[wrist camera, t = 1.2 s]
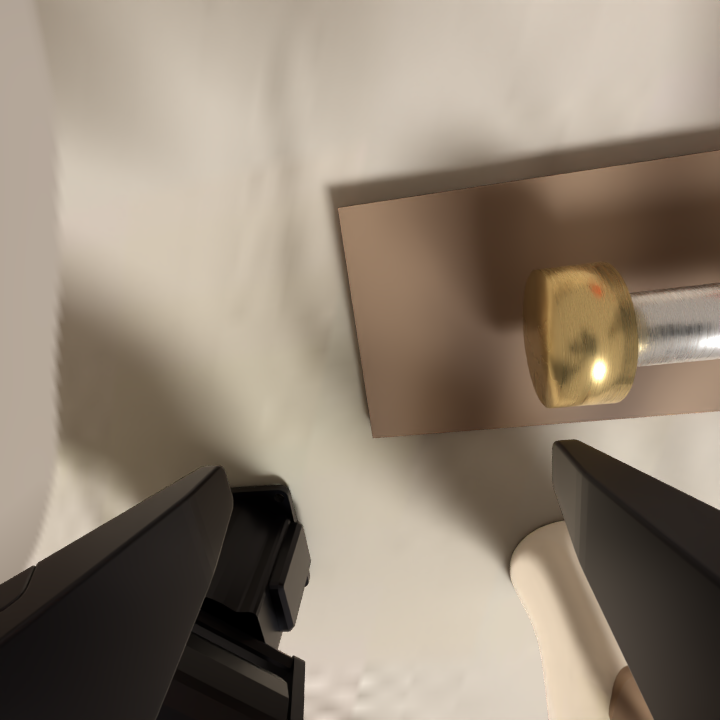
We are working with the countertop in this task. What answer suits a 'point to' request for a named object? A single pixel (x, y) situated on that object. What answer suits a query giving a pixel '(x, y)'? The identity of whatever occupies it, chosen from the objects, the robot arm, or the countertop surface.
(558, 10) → the countertop surface
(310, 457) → the countertop surface
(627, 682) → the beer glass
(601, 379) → the shaft
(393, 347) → the base board
